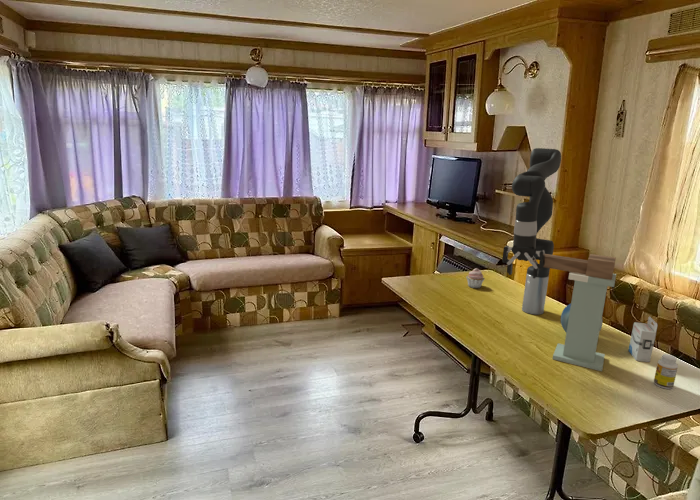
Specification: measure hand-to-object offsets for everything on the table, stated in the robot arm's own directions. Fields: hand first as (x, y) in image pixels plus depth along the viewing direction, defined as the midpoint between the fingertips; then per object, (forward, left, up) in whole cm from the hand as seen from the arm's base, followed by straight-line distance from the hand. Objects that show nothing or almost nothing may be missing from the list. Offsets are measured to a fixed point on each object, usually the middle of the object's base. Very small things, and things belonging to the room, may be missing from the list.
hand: (522, 276), depth 178 cm
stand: (-4, +22, -28) cm, 36 cm away
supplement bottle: (+1, +48, -28) cm, 56 cm away
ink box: (-19, +41, -28) cm, 54 cm away
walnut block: (-4, +17, +4) cm, 18 cm away
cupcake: (-63, -33, -28) cm, 76 cm away
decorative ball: (-24, +20, -28) cm, 42 cm away
